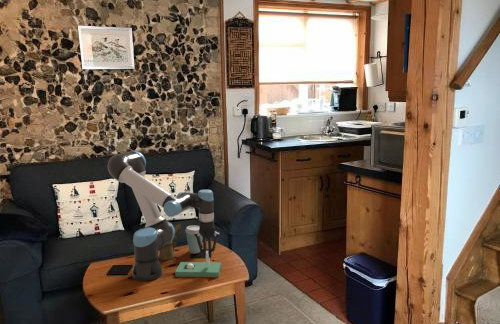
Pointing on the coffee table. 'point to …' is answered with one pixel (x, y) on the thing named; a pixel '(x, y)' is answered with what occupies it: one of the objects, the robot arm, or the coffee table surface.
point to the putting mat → (198, 269)
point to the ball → (190, 266)
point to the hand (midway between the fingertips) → (207, 263)
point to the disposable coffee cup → (193, 239)
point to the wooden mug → (169, 247)
